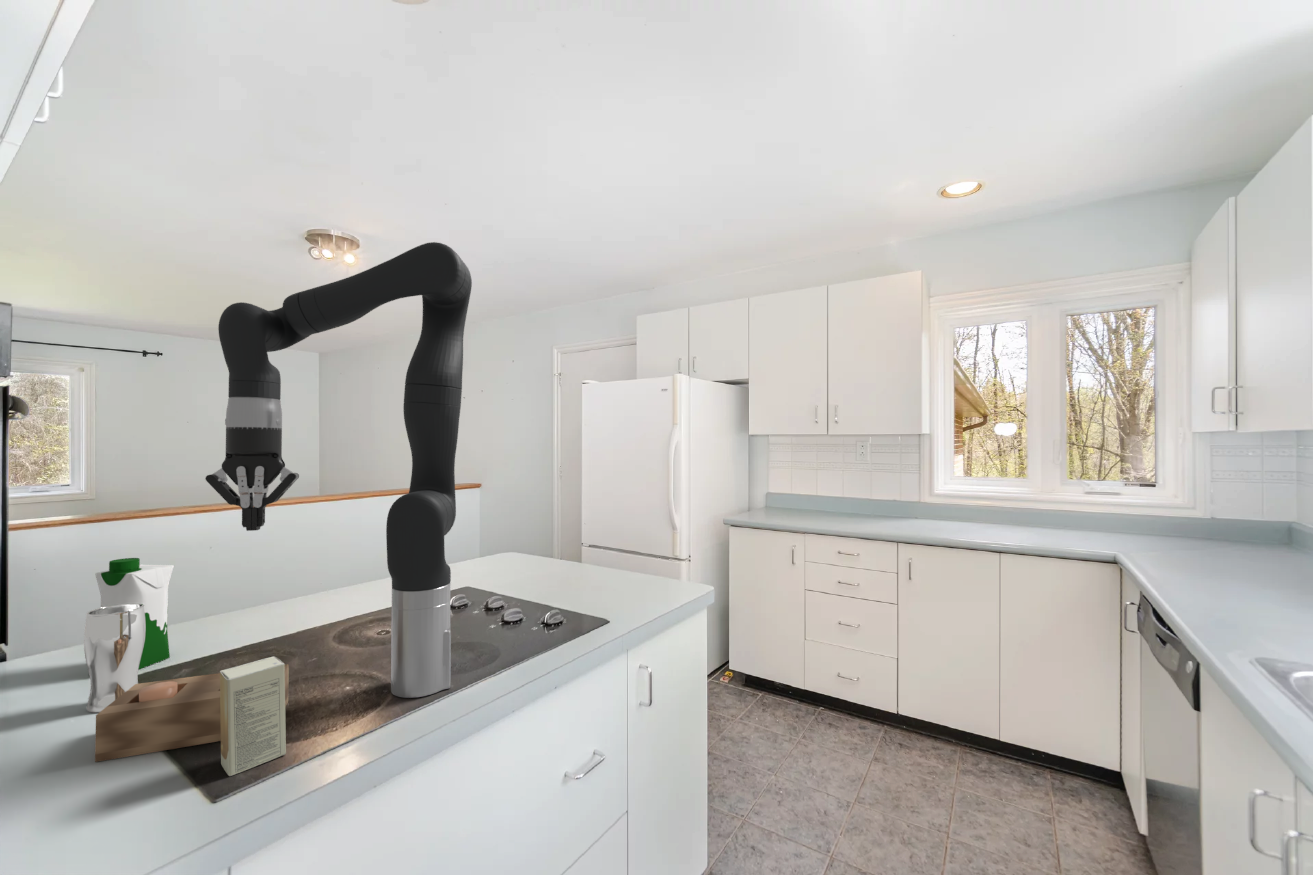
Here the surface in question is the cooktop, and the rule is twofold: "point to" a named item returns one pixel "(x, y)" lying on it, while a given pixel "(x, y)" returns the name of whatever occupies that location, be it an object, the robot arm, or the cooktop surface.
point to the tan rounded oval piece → (158, 691)
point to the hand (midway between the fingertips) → (253, 529)
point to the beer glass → (113, 651)
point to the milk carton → (141, 600)
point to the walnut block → (162, 719)
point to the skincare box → (252, 714)
